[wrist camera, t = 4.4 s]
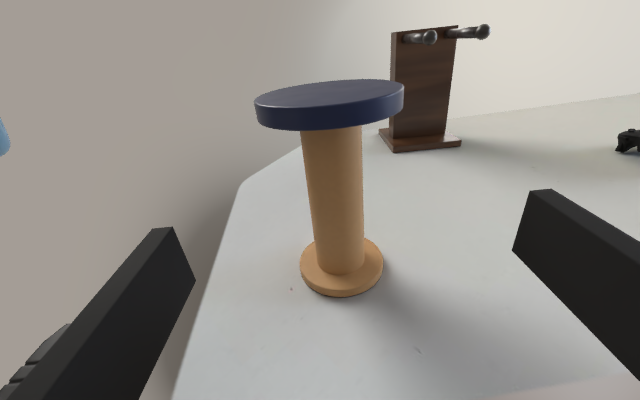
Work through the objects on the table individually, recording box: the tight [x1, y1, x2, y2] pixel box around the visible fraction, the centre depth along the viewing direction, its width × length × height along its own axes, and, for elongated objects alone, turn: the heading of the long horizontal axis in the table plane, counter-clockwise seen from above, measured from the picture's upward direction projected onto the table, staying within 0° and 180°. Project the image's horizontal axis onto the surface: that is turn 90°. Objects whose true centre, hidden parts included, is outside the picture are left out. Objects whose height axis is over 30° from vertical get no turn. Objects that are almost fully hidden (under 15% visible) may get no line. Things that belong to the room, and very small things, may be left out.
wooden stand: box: [379, 24, 491, 153], centre depth 43 cm, size 17×11×17 cm, turn 2°
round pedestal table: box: [254, 79, 404, 297], centre depth 21 cm, size 9×9×14 cm
